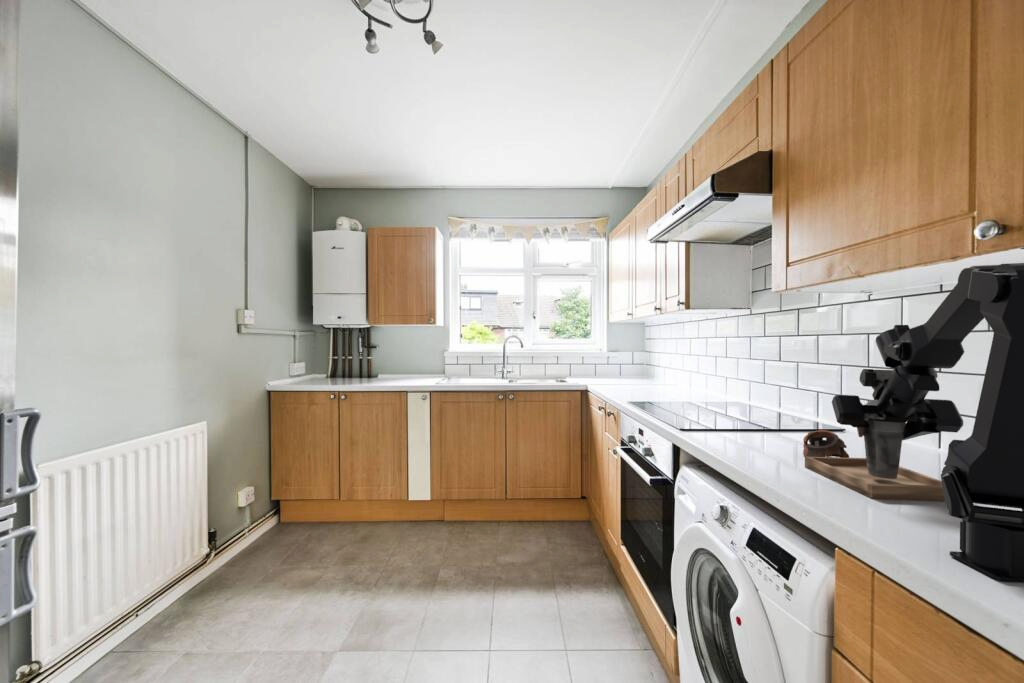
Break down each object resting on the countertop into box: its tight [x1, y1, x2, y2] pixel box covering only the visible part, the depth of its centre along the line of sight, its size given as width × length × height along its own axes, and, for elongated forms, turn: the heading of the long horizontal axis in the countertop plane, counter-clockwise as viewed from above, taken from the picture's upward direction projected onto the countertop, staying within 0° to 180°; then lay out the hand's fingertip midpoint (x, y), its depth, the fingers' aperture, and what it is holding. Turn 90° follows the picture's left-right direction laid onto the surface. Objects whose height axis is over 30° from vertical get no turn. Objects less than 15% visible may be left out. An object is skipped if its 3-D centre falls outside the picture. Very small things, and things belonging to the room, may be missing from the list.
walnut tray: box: [804, 456, 945, 502], centre depth 90 cm, size 20×16×2 cm
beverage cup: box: [863, 399, 907, 479], centre depth 88 cm, size 7×7×20 cm
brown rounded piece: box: [802, 429, 850, 458], centre depth 108 cm, size 12×10×8 cm
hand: (880, 436), depth 89 cm, fingers closed on beverage cup, 7 cm apart
